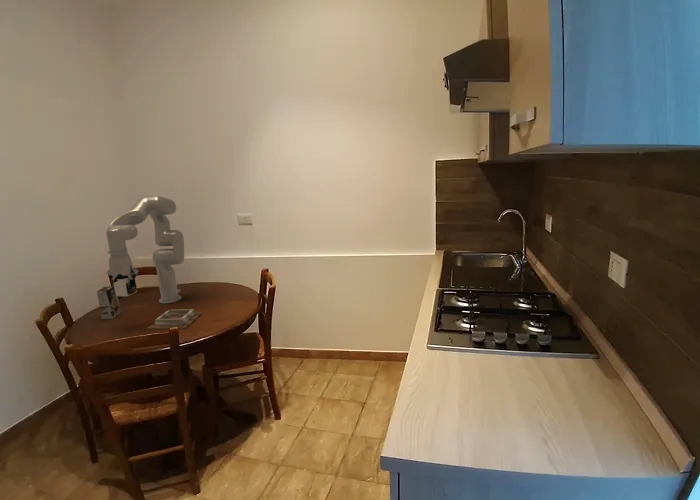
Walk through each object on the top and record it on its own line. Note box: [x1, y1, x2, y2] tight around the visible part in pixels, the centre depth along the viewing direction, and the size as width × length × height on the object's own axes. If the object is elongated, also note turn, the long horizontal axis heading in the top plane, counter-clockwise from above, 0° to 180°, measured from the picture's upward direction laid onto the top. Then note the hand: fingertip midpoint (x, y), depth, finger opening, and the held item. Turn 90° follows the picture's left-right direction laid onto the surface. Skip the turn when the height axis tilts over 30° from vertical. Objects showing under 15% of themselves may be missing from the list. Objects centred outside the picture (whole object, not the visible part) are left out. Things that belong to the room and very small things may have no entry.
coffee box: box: [96, 285, 121, 320], centre depth 239 cm, size 9×6×16 cm
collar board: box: [147, 308, 203, 331], centre depth 226 cm, size 20×20×4 cm
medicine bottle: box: [113, 274, 138, 297], centre depth 218 cm, size 7×7×12 cm
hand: (125, 286), depth 219 cm, fingers closed on medicine bottle, 7 cm apart
